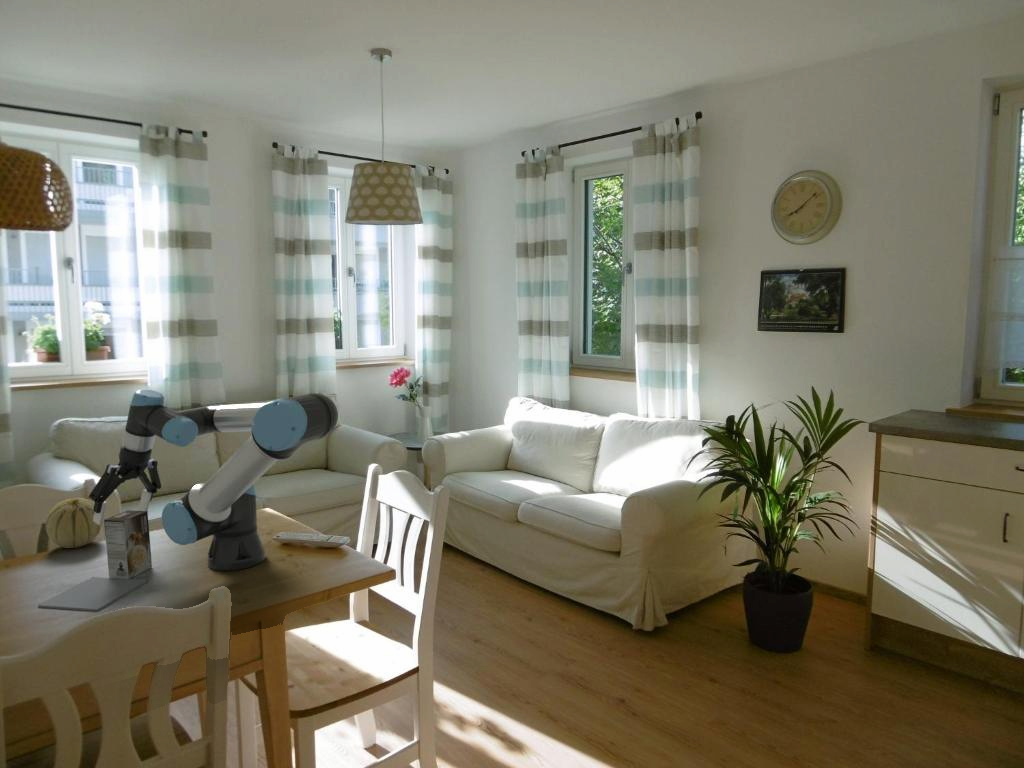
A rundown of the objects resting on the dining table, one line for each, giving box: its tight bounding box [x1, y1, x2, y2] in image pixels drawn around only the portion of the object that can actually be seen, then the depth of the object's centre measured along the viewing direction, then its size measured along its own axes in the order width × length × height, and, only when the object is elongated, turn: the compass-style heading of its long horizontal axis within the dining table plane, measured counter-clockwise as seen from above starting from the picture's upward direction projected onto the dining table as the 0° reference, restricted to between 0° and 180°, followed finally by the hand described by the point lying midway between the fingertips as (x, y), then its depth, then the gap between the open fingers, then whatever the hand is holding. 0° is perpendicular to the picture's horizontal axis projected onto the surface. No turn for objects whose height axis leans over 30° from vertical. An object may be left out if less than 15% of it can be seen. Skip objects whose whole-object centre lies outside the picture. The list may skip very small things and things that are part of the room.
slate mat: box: [37, 576, 148, 612], centre depth 182 cm, size 16×18×1 cm
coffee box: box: [103, 509, 153, 579], centre depth 196 cm, size 9×6×16 cm
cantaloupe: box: [45, 497, 103, 549], centre depth 218 cm, size 15×15×15 cm
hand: (120, 517), depth 199 cm, fingers open, 13 cm apart
